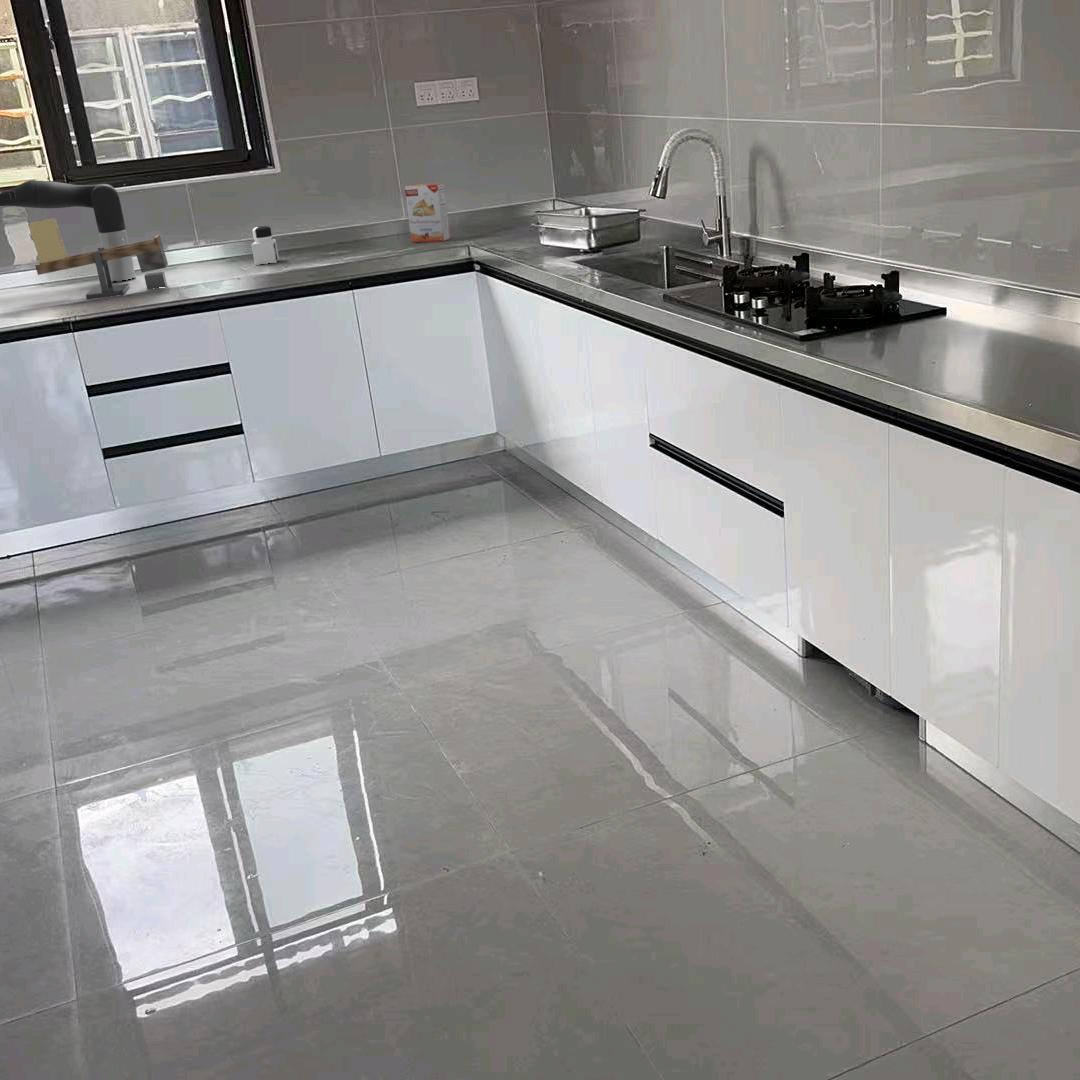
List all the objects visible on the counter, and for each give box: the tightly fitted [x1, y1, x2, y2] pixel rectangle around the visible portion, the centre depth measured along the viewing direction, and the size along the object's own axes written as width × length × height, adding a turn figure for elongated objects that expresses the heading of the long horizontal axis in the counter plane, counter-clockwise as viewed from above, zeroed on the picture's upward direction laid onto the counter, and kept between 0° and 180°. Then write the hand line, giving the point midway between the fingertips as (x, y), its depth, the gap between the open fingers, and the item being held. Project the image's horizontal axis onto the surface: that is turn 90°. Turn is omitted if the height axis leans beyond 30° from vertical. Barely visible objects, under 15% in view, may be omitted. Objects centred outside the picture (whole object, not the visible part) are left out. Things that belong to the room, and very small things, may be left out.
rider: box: [27, 217, 69, 264], centre depth 398 cm, size 8×5×14 cm, turn 101°
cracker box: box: [404, 182, 451, 243], centre depth 454 cm, size 14×6×21 cm, turn 67°
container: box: [250, 225, 280, 266], centre depth 441 cm, size 8×8×13 cm
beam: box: [35, 234, 169, 276], centre depth 403 cm, size 40×9×10 cm, turn 101°
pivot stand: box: [85, 247, 168, 300], centre depth 405 cm, size 25×16×14 cm, turn 101°
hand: (12, 195), depth 391 cm, fingers open, 7 cm apart
